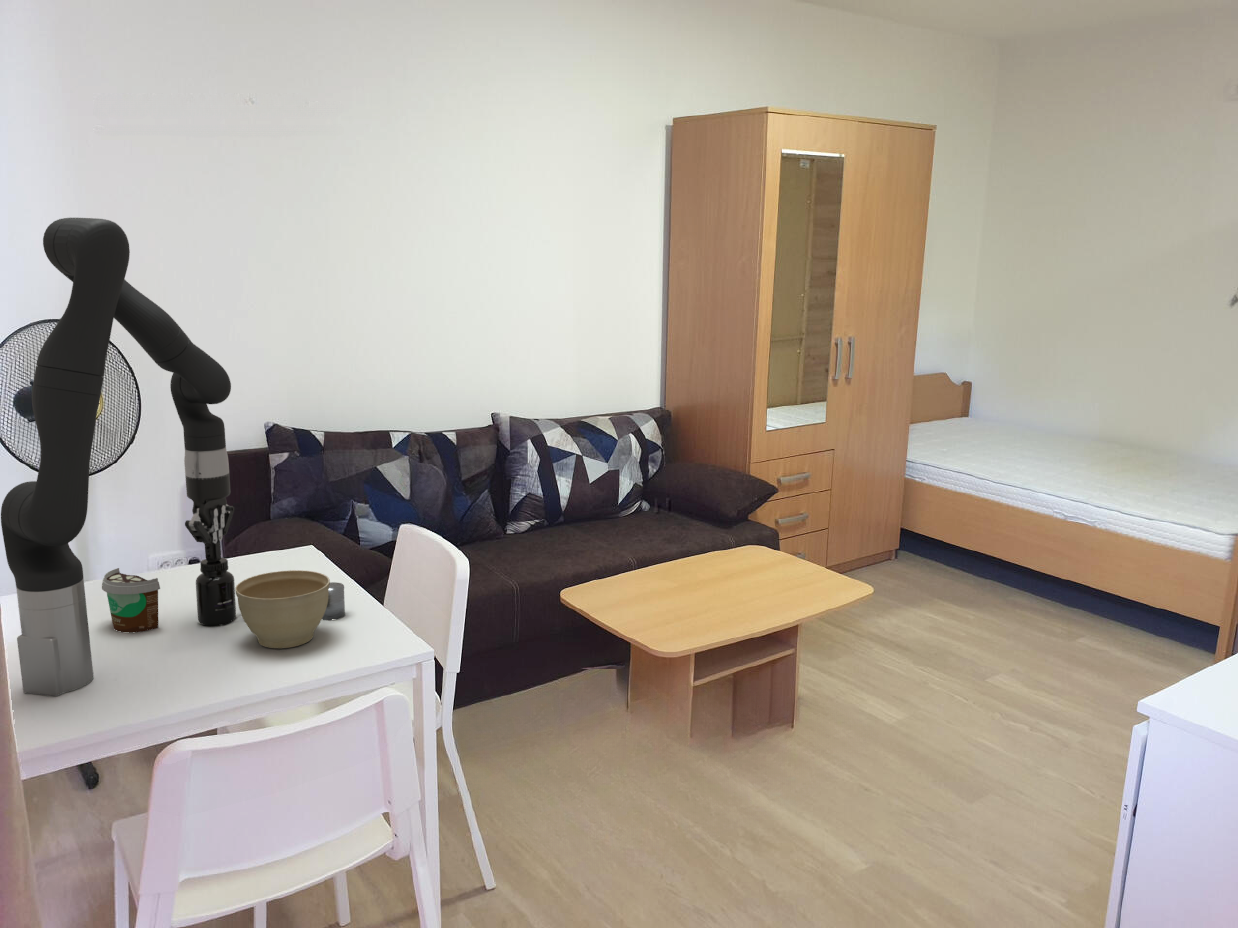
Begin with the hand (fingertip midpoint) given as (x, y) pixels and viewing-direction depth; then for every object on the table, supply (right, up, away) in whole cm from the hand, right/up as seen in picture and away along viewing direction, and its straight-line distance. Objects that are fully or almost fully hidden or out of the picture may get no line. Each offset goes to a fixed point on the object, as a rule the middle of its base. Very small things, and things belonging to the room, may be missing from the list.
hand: (213, 560), depth 177 cm
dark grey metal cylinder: (+20, -11, +6) cm, 24 cm away
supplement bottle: (0, -12, +2) cm, 12 cm away
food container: (-15, -13, -2) cm, 20 cm away
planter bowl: (+16, -14, -6) cm, 22 cm away
